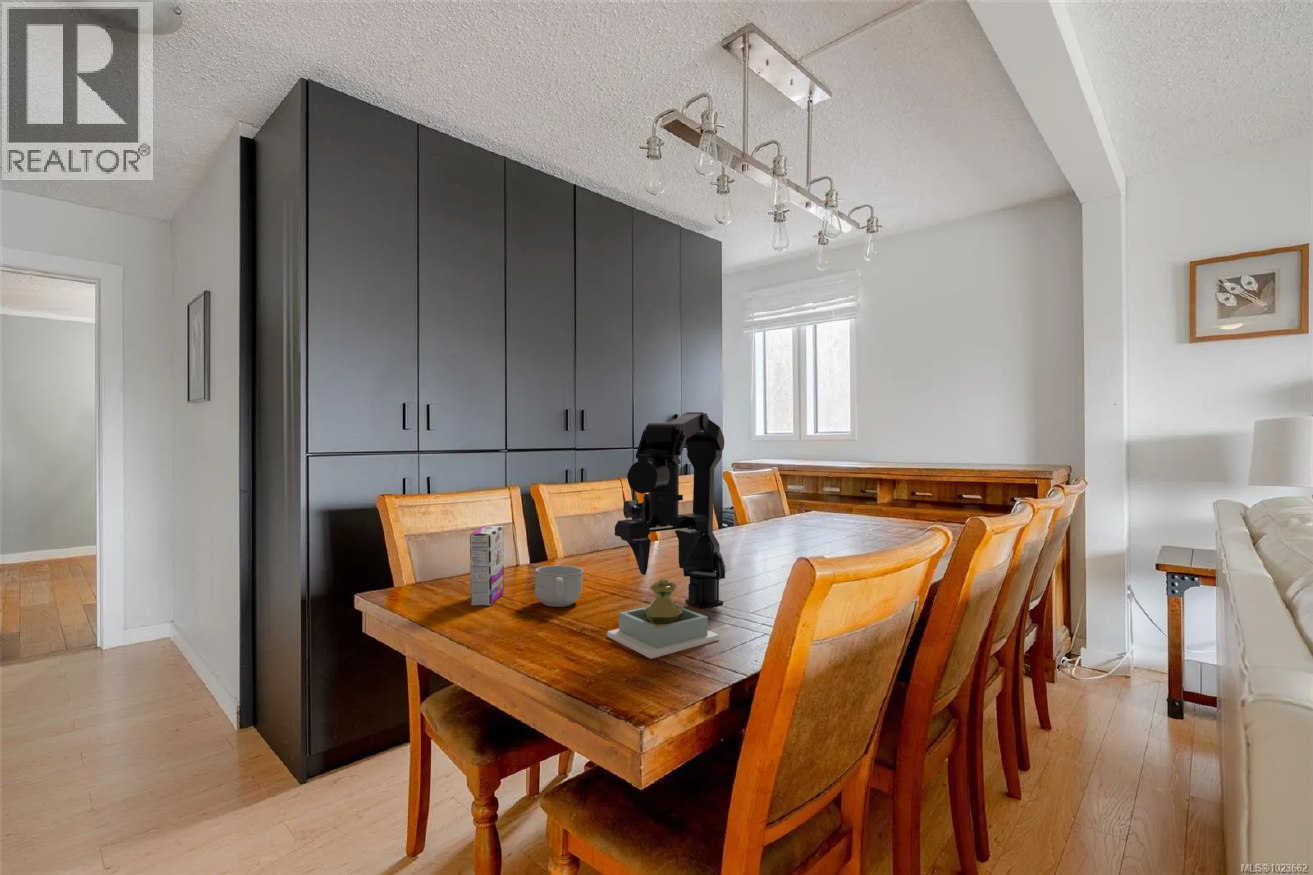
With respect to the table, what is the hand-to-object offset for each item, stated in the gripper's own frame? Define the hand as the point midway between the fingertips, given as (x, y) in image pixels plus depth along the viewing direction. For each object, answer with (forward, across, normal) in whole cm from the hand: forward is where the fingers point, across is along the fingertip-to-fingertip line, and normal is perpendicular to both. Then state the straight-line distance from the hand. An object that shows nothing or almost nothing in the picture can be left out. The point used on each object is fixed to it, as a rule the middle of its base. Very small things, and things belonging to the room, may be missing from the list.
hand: (663, 571), depth 114 cm
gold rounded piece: (+12, 0, 0) cm, 12 cm away
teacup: (+13, +6, -31) cm, 34 cm away
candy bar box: (+13, +17, -45) cm, 50 cm away
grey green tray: (+13, 0, 0) cm, 13 cm away
